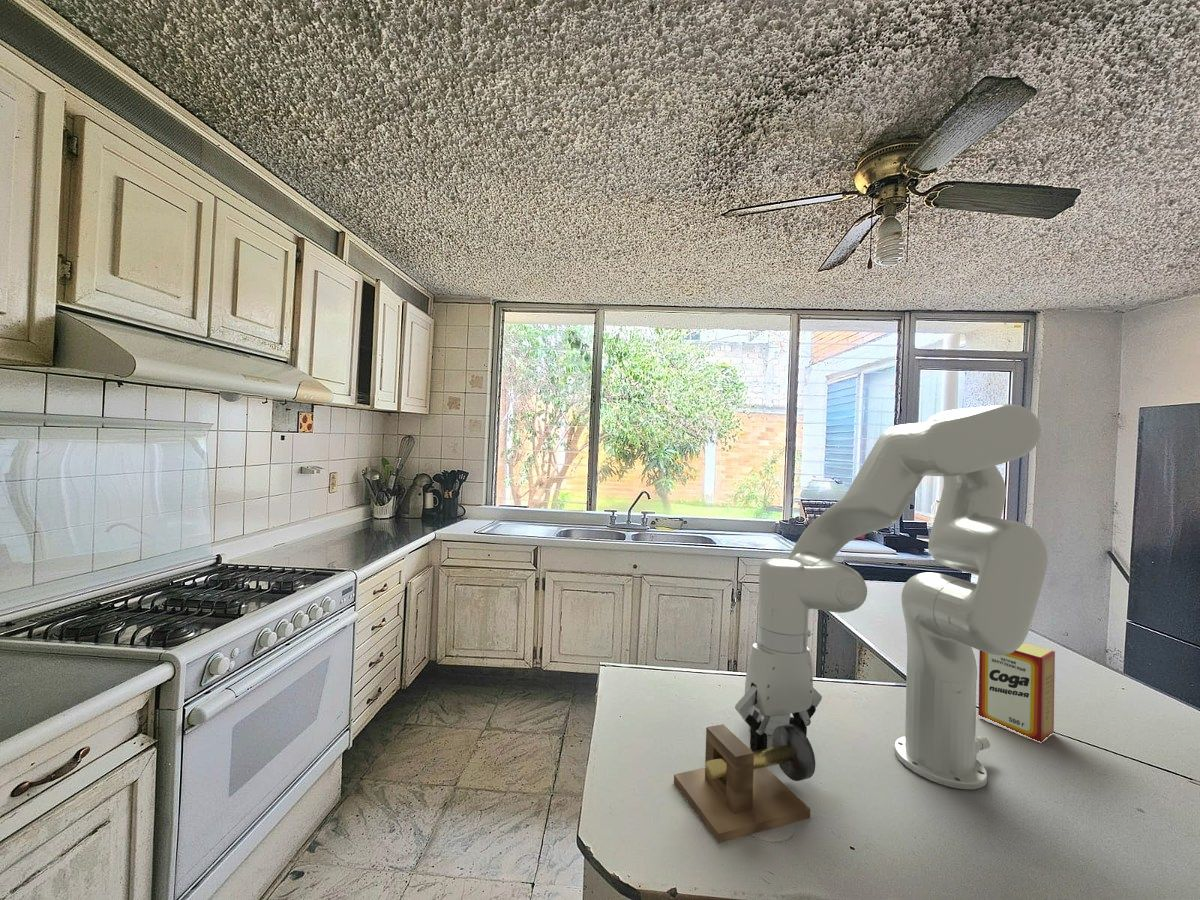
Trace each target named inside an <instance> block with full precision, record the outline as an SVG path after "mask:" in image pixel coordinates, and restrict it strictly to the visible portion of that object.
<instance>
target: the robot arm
mask: <svg viewBox="0 0 1200 900" xmlns="http://www.w3.org/2000/svg"><path fill="white" fill-rule="evenodd" d="M1041 430H1042V429H1041V424H1040V420H1039V419H1038V417H1037V416H1036V414H1034V413H1033V411H1031V410H1030V409H1029V408H1027V407H1025V406H1022V405H1018V404H1011V403H1010V404H1009V403H1006V404H1003V403H1002V404H995V405H994V404H993V405H987V406H986V405H985V406H978V407H977V406H976V407H975V406H974V407H967V408H966V407H964V408H957V409H950V410H946V411H945V410H944V411H941V412H937V413H936V414H934V415H932V416H930V417H929V418H928V419H927V421H925V422H914V423H904V424H898V425H894V426H891V427H889V428H888V429H886V430H885V431H884V432H882V433H881V435H880V436H879V437H878V439H877V440H876V442H875V444H874V445H873V447H872V448H871V450H870V452H869V454H868V455H867V457H866V459H865V461H864V463H862V466H861V467H860V469H859V470H858V472H857V475H856V476H855V478H854V480H853V481H852V482H851V485H850V486H849V488H848V490H846V493H845V495H844V496H842V498H840V499H839V500H838V501H837V502H835V503H834V504H832V505H831V506H829V507H828V508H827V509H826V510H824V511H823V512H822V513H821V514H820V515H819V516H818V517H816V518H815V519H814V520H813V521H812V522H811V523H810V524H809V525H807V527H806V528H805V529H804V530H803V531H802V534H801V535H800V537H799V538H798V540H797V541H796V542H795V544H794V546H793V548H792V550H791V552H790V554H789V555H788V558H778V557H776V558H775V557H774V558H767V559H764V560H763V561H762V562H761V563H760V566H759V573H758V574H759V575H758V600H757V601H758V602H757V604H758V605H757V633H756V642H755V643H753V644H752V646H751V649H750V651H751V652H750V653H749V656H748V660H747V665H746V667H747V668H746V675H745V683H744V695H743V696H742V697H741V698H740V699H739V700H738V702H737V703H736V704H735V706H734V708H735V711H736V712H737V713H738V714H739V715H740V717H741V718H742V719H743V721H744V722H745V723H746V724H747V726H748V727H749V726H750V727H751V731H749V734H750V735H749V736H750V737H749V738H750V739H749V747H750V748H749V749H750V750H751V751H757V750H762V749H766V748H768V734H766V733H765V732H764V731H765V729H766V726H767V724H768V722H769V719H770V717H773V716H779V715H785V714H792V716H790V720H789V724H793V725H795V726H797V727H798V728H800V729H801V730H802V731H803V732H804V734H805V735H806V737H807V736H808V735H807V734H808V733H807V732H808V727H809V726H810V725H811V722H812V721H811V719H812V717H813V715H814V714H815V713H816V711H817V709H816V708H818V706H819V704H820V703H821V701H822V700H823V699H822V698H823V695H821V693H819V691H818V690H817V689H815V688H814V677H813V665H812V664H813V662H812V659H811V658H812V657H811V652H810V648H809V647H808V643H809V642H808V639H809V638H810V637H811V635H812V634H811V630H810V629H809V612H810V611H809V610H818V611H825V612H830V613H837V614H838V613H839V614H845V613H850V612H854V611H855V610H858V609H859V608H861V607H862V605H863V604H864V603H865V602H866V599H867V596H868V586H867V583H866V581H865V579H864V577H862V575H861V574H860V572H858V571H857V570H856V569H854V568H852V567H850V566H848V565H846V564H843V563H840V562H838V561H834V559H835V557H836V556H837V554H838V553H839V552H840V551H841V549H842V548H844V546H846V545H847V544H848V543H849V542H852V541H853V540H854V539H856V538H859V537H860V536H864V535H867V534H870V533H873V532H878V531H879V530H882V529H885V528H888V527H892V526H893V525H895V524H896V523H898V521H899V520H900V519H901V516H902V515H903V513H904V512H905V510H906V508H907V506H908V504H909V502H910V500H911V499H912V497H913V495H914V493H915V492H916V491H917V489H918V486H919V485H920V484H921V482H922V480H923V478H925V476H928V477H930V476H931V477H942V478H943V486H942V487H943V488H942V491H941V496H940V500H939V503H938V505H937V506H938V507H937V509H936V512H935V517H934V520H933V522H932V526H931V529H930V533H929V537H928V547H927V549H928V551H929V555H930V556H931V557H932V558H933V560H935V562H938V563H939V564H941V565H943V566H945V567H947V568H951V569H953V570H957V571H961V572H965V573H968V574H972V575H976V576H978V577H977V582H976V583H974V582H971V581H969V580H965V579H961V578H958V577H954V576H951V575H948V574H943V573H940V572H939V573H938V572H931V571H930V572H927V571H926V572H921V573H916V574H914V575H913V576H911V577H909V579H908V580H906V582H905V583H904V585H903V587H902V590H901V598H900V599H901V609H902V614H903V620H904V623H905V632H906V686H905V688H906V691H905V725H904V726H905V733H904V734H905V735H904V736H901V737H899V738H897V739H896V740H895V742H894V749H893V750H894V754H895V756H896V758H897V759H898V760H899V761H900V762H901V763H902V764H903V765H905V766H904V767H907V769H909V770H911V771H912V772H914V773H915V774H917V775H918V776H921V777H923V778H925V779H927V780H929V781H932V782H934V783H937V784H938V785H943V786H945V787H950V788H953V789H958V790H959V789H961V790H976V789H981V788H983V787H985V786H986V784H987V782H988V772H987V770H986V768H985V767H984V765H983V764H982V763H981V762H980V761H979V760H978V759H977V757H978V756H977V754H979V753H980V751H983V750H987V749H990V748H991V743H990V740H989V739H988V738H987V737H986V736H984V735H978V736H976V725H977V724H976V723H977V722H976V718H977V715H976V714H977V680H978V679H977V678H978V667H977V660H976V656H975V653H974V650H973V649H976V650H978V651H979V652H980V651H983V652H986V653H989V654H993V655H1007V654H1010V653H1012V652H1014V651H1016V650H1017V649H1018V648H1019V647H1020V646H1021V645H1022V644H1023V643H1025V640H1026V638H1027V636H1028V634H1029V631H1030V629H1031V626H1032V622H1033V619H1034V616H1035V612H1036V609H1037V604H1038V601H1039V598H1040V594H1041V591H1042V588H1043V584H1044V582H1045V581H1044V580H1045V577H1046V574H1047V573H1046V572H1047V567H1048V552H1047V547H1046V544H1045V542H1044V539H1043V538H1042V536H1041V534H1039V532H1038V531H1036V530H1035V529H1034V528H1032V527H1031V526H1029V525H1027V524H1025V523H1024V522H1023V523H1022V522H1020V521H1016V520H1012V519H1011V520H1010V519H1005V518H1002V517H1003V512H1004V506H1005V502H1006V498H1007V487H1006V483H1005V480H1004V477H1003V475H1002V474H1001V472H1000V471H999V468H997V466H999V465H1003V464H1005V463H1009V462H1011V461H1012V462H1013V461H1015V460H1018V459H1020V458H1022V457H1024V456H1026V455H1028V454H1029V453H1030V452H1032V451H1033V449H1035V448H1036V445H1037V444H1038V443H1039V441H1040V437H1041V432H1042V431H1041ZM752 705H754V706H753V708H752V711H751V713H750V712H749V709H750V707H751V706H752ZM759 714H761V715H762V716H761V718H760V720H759V723H758V722H757V718H758V716H759ZM807 738H808V737H807Z"/></svg>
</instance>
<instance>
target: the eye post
mask: <svg viewBox="0 0 1200 900" xmlns="http://www.w3.org/2000/svg"><path fill="white" fill-rule="evenodd" d="M705 729H706V730H705V760H704V761H705V762H704V763H706V761H709V760H714V759H719V758H724V759H725V760H726V761H727V774H726V776H724V777H719V778H715V779H710V778H709V777H708V775H707V773H706V769H705V767H702V768H698V769H692V770H688V771H684V772H679V773H674V775H673V783H674V784H675V786H676V787H677V788H678V790H679V791H680V793H681V794H682V796H684V799H685V800H686V801H687V802H688V804H689V805H690V807H691V808H692V809H693V811H694V812H695V813H696V814H697V816H698V817H699V818H700V820H701V822H702V823H703V824H704V826H705V827H706V828H707V830H708V831H709V832H710V834H711V835H712V836H713V838H714V839H715V840H716V842H717V844H721V843H725V842H728V841H732V840H735V839H739V838H742V837H746V836H749V835H752V834H756V833H760V832H764V831H767V830H771V829H775V828H777V827H778V828H779V827H782V826H785V825H789V824H791V823H792V824H793V823H796V822H799V821H804V820H806V819H809V818H811V807H809V806H808V805H807V804H806V803H805V802H804V801H803V800H802V799H800V797H798V795H796V794H795V793H794V792H793V791H792V790H791V789H790V788H789V787H788V786H787V785H786V784H785V783H783V781H782V780H781V779H780V778H778V777H777V775H775V774H774V773H773V772H772V771H771V770H770V769H769V768H768V767H764V768H759V769H755V770H754V752H752V751H751V748H749V747H748V746H747V745H746V744H745V743H744V742H743V741H742V740H741V739H740V738H739V737H737V736H736V734H735V733H733V732H732V731H731V730H730V729H729V728H728V727H727V726H726V725H724V723H722V724H717V725H712V726H707V727H706V728H705Z"/></svg>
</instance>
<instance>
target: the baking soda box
mask: <svg viewBox="0 0 1200 900" xmlns="http://www.w3.org/2000/svg"><path fill="white" fill-rule="evenodd" d="M978 659H979V660H978V661H979V663H978V664H979V665H978V666H979V667H978V669H979V670H978V671H979V673H978V674H979V675H978V679H979V680H978V715H980V716H982V717H985V718H988V719H990V720H992V721H994V722H997V723H999V724H1001V725H1003V726H1006V727H1007V728H1010V729H1012V730H1015V731H1016V732H1019V733H1021V734H1023V735H1026V736H1028V737H1030V738H1032V739H1035V740H1037V741H1040V742H1042V741H1043V740H1044V739H1045V738H1046V737H1048V736H1049V735H1050V734H1052V733H1053V732H1055V731H1054V730H1055V729H1054V728H1055V727H1054V723H1055V720H1054V719H1055V680H1056V679H1055V676H1056V675H1055V674H1056V673H1055V669H1056V668H1055V667H1056V664H1055V661H1056V651H1054V650H1052V649H1047V648H1045V647H1044V648H1043V647H1040V646H1037V645H1033V644H1031V643H1025V642H1023V644H1022V645H1021V646H1020V647H1019V648H1018V649H1017V650H1016V651H1014V652H1012V653H1010V654H1007V655H993V654H989V653H986V652H983V651H980V650H979V658H978Z"/></svg>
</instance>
